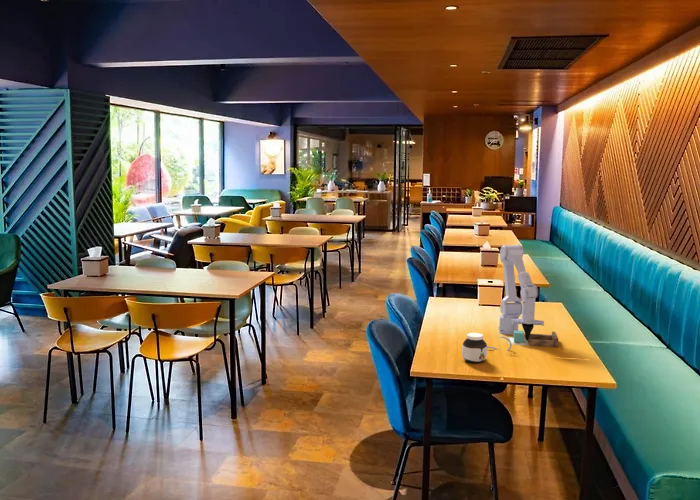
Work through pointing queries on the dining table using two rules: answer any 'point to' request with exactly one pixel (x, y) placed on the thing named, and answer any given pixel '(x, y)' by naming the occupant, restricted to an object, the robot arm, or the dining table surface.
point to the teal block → (519, 336)
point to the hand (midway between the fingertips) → (526, 339)
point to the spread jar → (474, 348)
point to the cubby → (538, 340)
